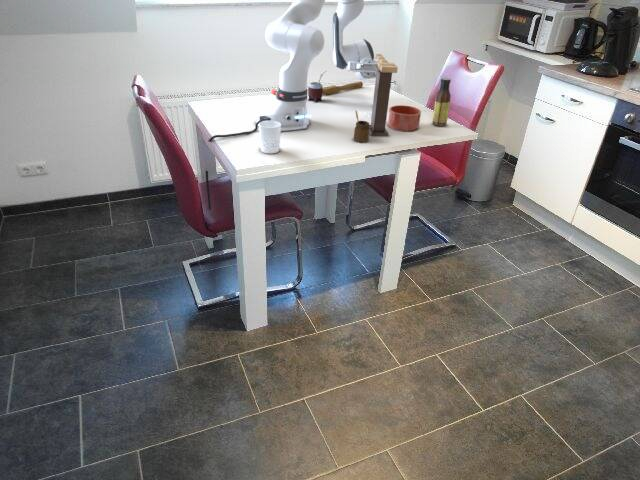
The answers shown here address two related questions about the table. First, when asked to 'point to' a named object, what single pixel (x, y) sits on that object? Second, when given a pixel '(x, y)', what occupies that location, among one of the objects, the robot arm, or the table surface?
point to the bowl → (404, 118)
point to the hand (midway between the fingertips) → (372, 66)
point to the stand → (380, 103)
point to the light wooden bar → (385, 64)
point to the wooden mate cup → (361, 130)
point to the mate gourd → (315, 90)
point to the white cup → (269, 136)
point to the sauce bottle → (442, 103)
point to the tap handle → (340, 88)
